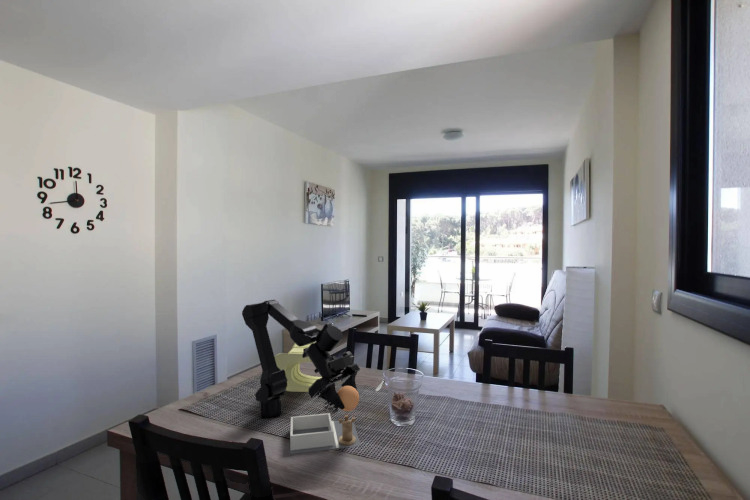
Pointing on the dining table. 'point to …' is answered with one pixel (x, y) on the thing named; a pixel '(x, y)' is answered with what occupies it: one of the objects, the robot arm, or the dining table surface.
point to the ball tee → (347, 431)
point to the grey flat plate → (337, 434)
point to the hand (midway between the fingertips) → (351, 404)
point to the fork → (379, 386)
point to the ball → (348, 397)
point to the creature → (330, 405)
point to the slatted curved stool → (295, 369)
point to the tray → (311, 438)
